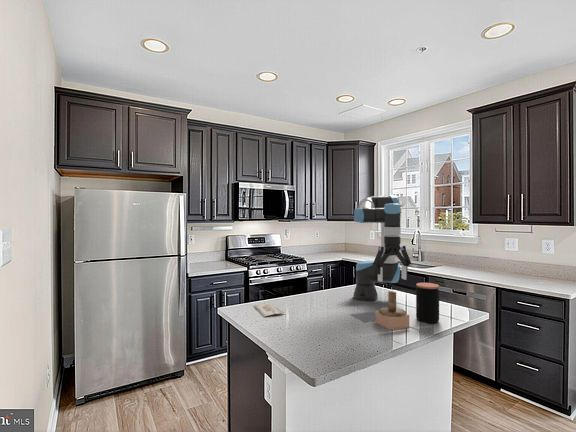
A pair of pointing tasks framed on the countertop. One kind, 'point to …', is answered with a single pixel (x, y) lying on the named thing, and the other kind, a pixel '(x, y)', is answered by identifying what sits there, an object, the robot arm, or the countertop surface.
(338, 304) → the countertop surface
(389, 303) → the lid
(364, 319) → the mat
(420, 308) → the coffee jar
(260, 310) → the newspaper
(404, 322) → the pink open box
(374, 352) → the countertop surface
